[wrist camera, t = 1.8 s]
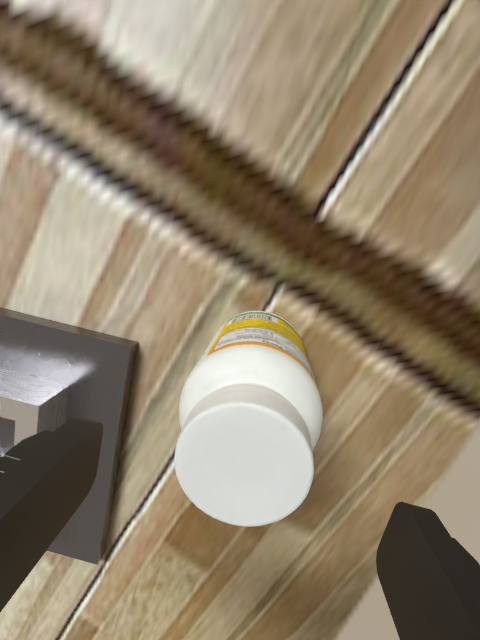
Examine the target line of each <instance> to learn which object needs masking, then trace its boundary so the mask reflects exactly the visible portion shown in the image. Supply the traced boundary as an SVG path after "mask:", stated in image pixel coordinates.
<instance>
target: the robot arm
mask: <svg viewBox="0 0 480 640" xmlns="http://www.w3.org/2000/svg"><path fill="white" fill-rule="evenodd" d="M102 436H103V424H102V423H100V422H96V421H93V420H89V419H85V418H81V417H77V416H73V417H71V418H69V419H68V420H67V421H66V422H65V423H63V424H62V425H61V426H60V427H59V428H57V429H56V430H55V431H54V432H52V431H48V430H45V431H42V432H40V433H37V434H35V435H33V436H30V437H28V438H25V439H23V440H22V441H20V442H19V443H18V444H16V445H15V446H14V447H13V448H11V449H10V450H9V451H7V452H6V453H5V454H4V456H3V457H0V612H1V611H2V609H3V608H4V607H5V605H6V604H7V603H8V601H9V600H10V599H11V597H12V596H13V595H14V593H15V592H16V590H17V589H18V588H19V586H20V585H21V584H22V582H23V581H24V580H25V578H26V577H27V576H28V574H29V573H30V572H31V570H32V569H33V568H34V566H35V565H36V564H37V562H38V561H39V560H40V558H41V557H42V556H43V554H44V553H45V552H46V550H47V549H48V548H49V546H50V545H51V544H52V542H53V541H54V540H55V538H56V537H57V536H58V534H59V533H60V531H61V530H62V529H63V527H64V526H65V525H66V523H67V522H68V521H69V519H70V518H71V517H72V515H73V514H74V513H75V511H76V510H77V509H78V507H79V506H80V505H81V503H82V502H83V501H84V499H85V498H86V497H87V495H88V493H89V492H90V490H91V488H92V486H93V483H94V481H95V478H96V474H97V470H98V463H99V456H100V449H101V442H102ZM376 564H377V572H378V577H379V580H380V583H381V585H382V589H383V592H384V594H385V597H386V600H387V603H388V606H389V609H390V612H391V615H392V617H393V621H394V624H395V626H396V629H397V632H398V635H399V638H400V640H480V565H479V564H478V562H477V561H476V560H475V559H474V558H473V557H472V556H471V555H470V554H469V553H468V552H467V551H466V550H465V549H464V548H463V547H462V546H461V545H460V544H459V543H458V542H457V540H456V539H454V538H451V536H450V534H449V533H448V531H447V530H446V528H445V527H444V525H443V524H442V522H441V521H440V519H439V518H438V516H437V515H436V513H435V512H433V511H432V510H430V509H427V508H423V507H419V506H415V505H411V504H408V503H404V502H399V503H397V504H396V506H395V507H394V510H393V512H392V514H391V517H390V519H389V522H388V524H387V527H386V529H385V532H384V534H383V537H382V539H381V542H380V544H379V547H378V550H377V558H376Z"/></svg>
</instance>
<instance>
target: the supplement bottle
mask: <svg viewBox="0 0 480 640" xmlns="http://www.w3.org/2000/svg"><path fill="white" fill-rule="evenodd" d="M179 420H180V426H181V430H182V432H181V434H180V436H179V439H178V441H177V445H176V450H175V470H176V475H177V478H178V480H179V483H180V485H181V487H182V489H183V491H184V492H185V494H186V495H187V496H188V498H189V499H190V500H191V501H192V502H193V503H194V504H195V505H196V506H197V507H198V508H199V509H201V510H202V511H203V512H205V513H206V514H208V515H210V516H211V517H213V518H215V519H218V520H220V521H222V522H225V523H229V524H232V525H237V526H261V525H267V524H270V523H273V522H276V521H279V520H281V519H283V518H285V517H286V516H288V515H289V514H291V513H292V512H293V511H295V510H296V509H297V507H299V506H300V505H301V503H302V502H303V501H304V499H305V498H306V496H307V494H308V492H309V490H310V487H311V484H312V481H313V475H314V460H313V450H314V448H315V446H316V444H317V442H318V440H319V437H320V434H321V429H322V423H323V409H322V402H321V397H320V394H319V391H318V387H317V384H316V381H315V378H314V375H313V372H312V369H311V367H310V364H309V361H308V358H307V355H306V351H305V348H304V345H303V342H302V340H301V338H300V336H299V334H298V332H297V331H296V330H295V328H294V327H293V326H292V325H291V324H290V323H289V322H287V321H286V320H285V319H283V318H281V317H280V316H278V315H275V314H273V313H269V312H265V311H249V312H244V313H241V314H238V315H236V316H234V317H232V318H230V319H229V320H228V321H226V322H225V323H224V324H223V325H222V326H221V327H220V329H219V330H218V331H217V333H216V334H215V336H214V338H213V339H212V341H211V342H210V344H209V345H208V347H207V349H206V350H205V352H204V353H203V355H202V357H201V358H200V360H199V361H198V363H197V364H196V366H195V367H194V369H193V370H192V372H191V373H190V375H189V377H188V379H187V381H186V383H185V385H184V387H183V390H182V393H181V397H180V403H179Z"/></svg>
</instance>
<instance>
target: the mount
mask: <svg viewBox="0 0 480 640" xmlns="http://www.w3.org/2000/svg"><path fill="white" fill-rule="evenodd" d="M137 345H138V342H135V341H131V340H127V339H123V338H119V337H115V336H111V335H107V334H103V333H99V332H95V331H91V330H88V329H84V328H80V327H76V326H72V325H68V324H64V323H60V322H56V321H52V320H48V319H44V318H40V317H36V316H32V315H28V314H24V313H20V312H16V311H12V310H8V309H4V308H0V457H3V456H4V454H5V453H6V452H7V451H9V450H10V449H11V448H13V447H14V446H15V445H16V444H18V443H19V442H20V441H22V440H23V439H25V438H28V437H30V436H33V435H35V434H37V433H40V432H42V431H45V430H48V431H52V432H54V431H55V430H56V429H57V428H59V427H60V426H61V425H62V424H63V423H65V422H66V421H67V420H68V419H69V418H71V417H73V416H77V417H81V418H85V419H89V420H93V421H96V422H100V423H102V424H103V436H102V442H101V449H100V456H99V463H98V470H97V474H96V478H95V481H94V483H93V486H92V488H91V490H90V492H89V493H88V495H87V497H86V498H85V499H84V501H83V502H82V503H81V505H80V506H79V507H78V509H77V510H76V511H75V513H74V514H73V515H72V517H71V518H70V519H69V521H68V522H67V523H66V525H65V526H64V527H63V529H62V530H61V531H60V533H59V534H58V536H57V537H56V538H55V540H54V541H53V542H52V544H51V545H50V546H49V548H48V549H47V551H51V552H54V553H58V554H61V555H65V556H69V557H72V558H76V559H79V560H83V561H86V562H90V563H94V564H97V565H98V563H99V561H100V559H101V557H102V556H103V554H104V552H105V548H106V542H107V535H108V529H109V523H110V516H111V510H112V504H113V497H114V491H115V484H116V478H117V472H118V465H119V459H120V453H121V446H122V440H123V434H124V427H125V421H126V415H127V408H128V402H129V395H130V389H131V383H132V376H133V370H134V364H135V357H136V351H137Z"/></svg>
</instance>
